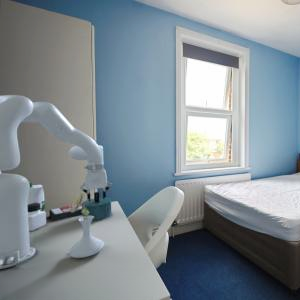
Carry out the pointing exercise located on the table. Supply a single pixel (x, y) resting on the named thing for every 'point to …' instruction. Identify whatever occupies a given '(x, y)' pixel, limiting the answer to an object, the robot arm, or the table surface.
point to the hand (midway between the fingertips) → (96, 199)
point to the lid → (96, 201)
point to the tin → (99, 211)
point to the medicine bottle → (35, 216)
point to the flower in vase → (85, 234)
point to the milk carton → (36, 195)
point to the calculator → (64, 213)
